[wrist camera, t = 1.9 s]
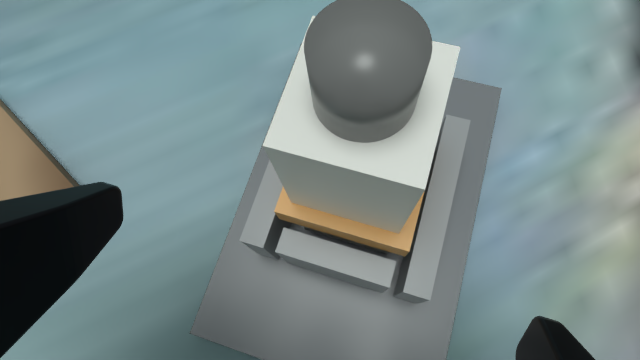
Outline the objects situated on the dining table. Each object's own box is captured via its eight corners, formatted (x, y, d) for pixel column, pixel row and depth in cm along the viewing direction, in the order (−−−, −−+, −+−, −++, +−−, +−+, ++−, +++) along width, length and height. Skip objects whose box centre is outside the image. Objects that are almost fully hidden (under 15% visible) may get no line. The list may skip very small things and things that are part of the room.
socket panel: (428, 415, 17) (454, 447, 13) (197, 332, 19) (154, 337, 15) (495, 98, 22) (529, 45, 18) (303, 54, 24) (293, -4, 19)
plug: (394, 267, 18) (466, 190, 7) (291, 236, 19) (209, 120, 8) (419, 169, 20) (513, -27, 9) (323, 143, 21) (291, -67, 9)
